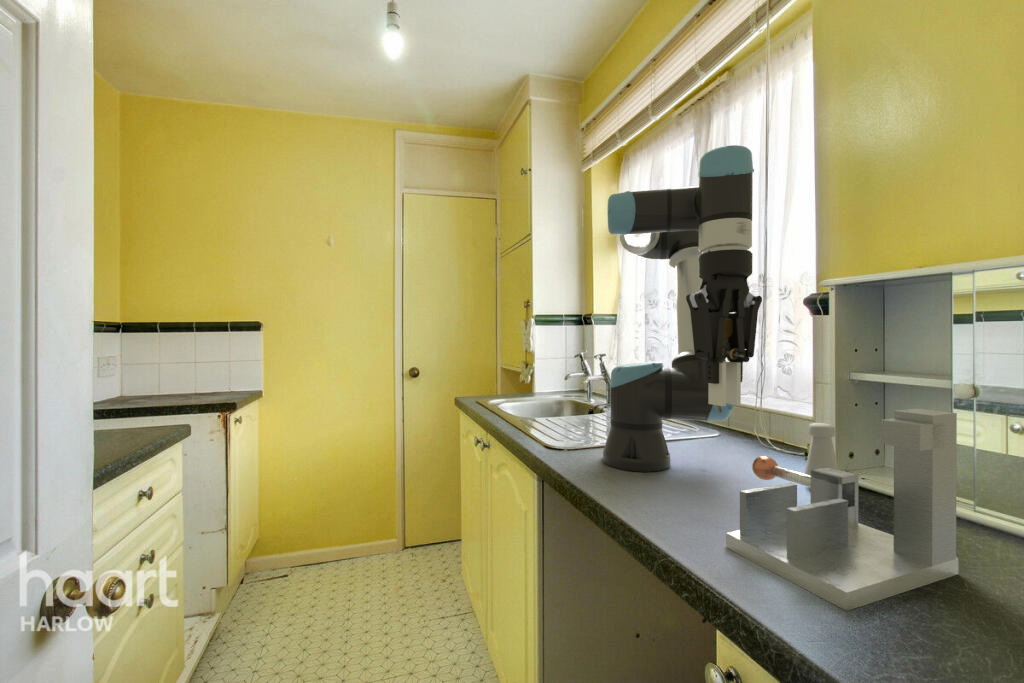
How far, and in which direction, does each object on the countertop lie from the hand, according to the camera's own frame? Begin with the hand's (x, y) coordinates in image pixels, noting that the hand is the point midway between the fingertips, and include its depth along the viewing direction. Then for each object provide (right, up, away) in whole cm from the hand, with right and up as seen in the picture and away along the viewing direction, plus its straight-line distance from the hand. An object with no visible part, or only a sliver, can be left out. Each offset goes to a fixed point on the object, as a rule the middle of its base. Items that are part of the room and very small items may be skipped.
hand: (724, 404), depth 70 cm
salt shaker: (+27, -19, +17) cm, 37 cm away
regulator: (0, -2, 0) cm, 2 cm away
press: (+9, -19, -10) cm, 24 cm away
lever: (+13, -14, +3) cm, 19 cm away
